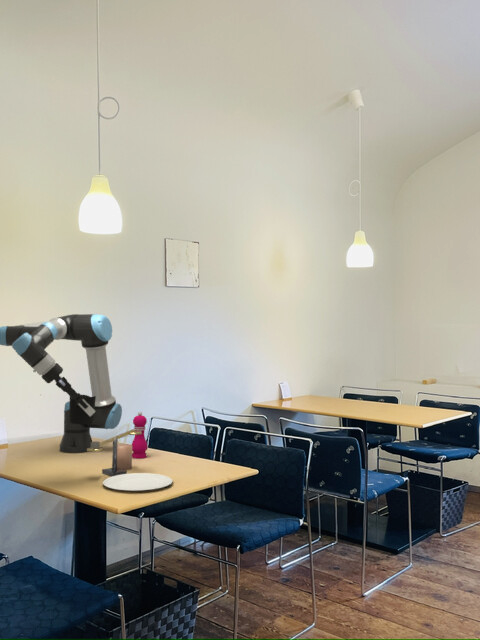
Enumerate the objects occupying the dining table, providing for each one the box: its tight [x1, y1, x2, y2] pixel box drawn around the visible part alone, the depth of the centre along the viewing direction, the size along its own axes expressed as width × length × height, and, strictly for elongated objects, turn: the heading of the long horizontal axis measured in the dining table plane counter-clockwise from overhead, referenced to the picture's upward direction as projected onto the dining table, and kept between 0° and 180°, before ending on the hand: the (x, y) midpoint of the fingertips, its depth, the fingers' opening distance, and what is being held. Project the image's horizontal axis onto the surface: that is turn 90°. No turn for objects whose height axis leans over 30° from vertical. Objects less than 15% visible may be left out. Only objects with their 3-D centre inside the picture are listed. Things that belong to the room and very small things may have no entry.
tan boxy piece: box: [117, 443, 133, 471], centre depth 241 cm, size 8×8×9 cm
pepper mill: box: [131, 411, 149, 460], centre depth 262 cm, size 7×7×20 cm
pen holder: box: [69, 394, 96, 424], centre depth 222 cm, size 9×9×10 cm
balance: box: [87, 428, 142, 477], centre depth 231 cm, size 8×23×16 cm, turn 134°
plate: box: [102, 472, 173, 492], centre depth 215 cm, size 25×25×2 cm
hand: (90, 412), depth 223 cm, fingers closed on pen holder, 9 cm apart
